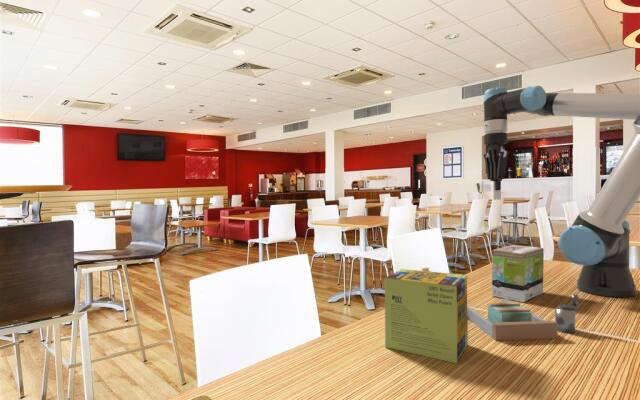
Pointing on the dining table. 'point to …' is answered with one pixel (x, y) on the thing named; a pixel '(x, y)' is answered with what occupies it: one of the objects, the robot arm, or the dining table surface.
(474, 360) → the dining table surface
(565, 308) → the winch drum
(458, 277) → the protein box
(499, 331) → the bay
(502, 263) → the tea box
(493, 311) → the crate
